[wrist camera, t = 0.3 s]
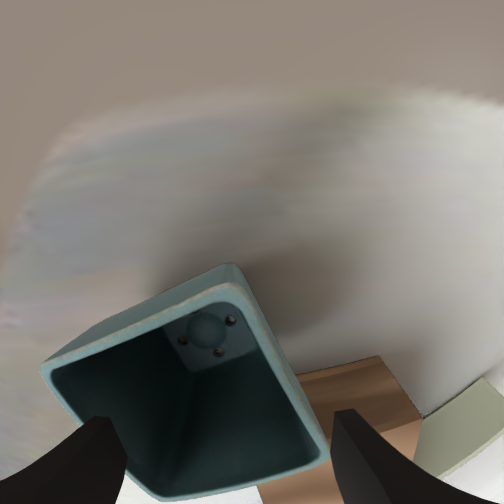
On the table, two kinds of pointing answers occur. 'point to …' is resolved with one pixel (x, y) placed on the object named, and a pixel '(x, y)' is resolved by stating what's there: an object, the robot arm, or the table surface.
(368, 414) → the cabinet
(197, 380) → the flower pot
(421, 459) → the door
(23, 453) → the table surface
